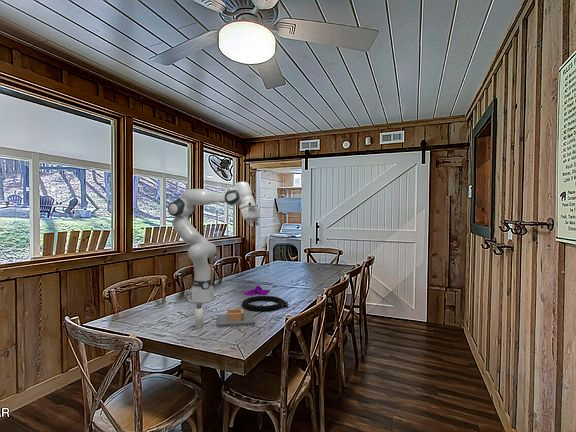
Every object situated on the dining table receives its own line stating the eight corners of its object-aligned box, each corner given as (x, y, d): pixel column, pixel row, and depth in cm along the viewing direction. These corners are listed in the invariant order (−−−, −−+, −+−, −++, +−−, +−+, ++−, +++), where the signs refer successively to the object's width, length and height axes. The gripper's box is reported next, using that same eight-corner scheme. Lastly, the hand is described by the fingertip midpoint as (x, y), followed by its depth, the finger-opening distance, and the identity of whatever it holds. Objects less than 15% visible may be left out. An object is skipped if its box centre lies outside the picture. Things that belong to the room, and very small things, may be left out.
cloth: (240, 296, 236) (240, 287, 236) (249, 290, 254) (249, 282, 254) (270, 298, 231) (270, 289, 231) (276, 291, 249) (276, 283, 249)
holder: (217, 327, 171) (217, 317, 171) (216, 317, 186) (216, 308, 186) (255, 324, 175) (255, 314, 175) (251, 315, 191) (251, 306, 191)
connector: (193, 326, 171) (194, 302, 171) (201, 325, 174) (201, 301, 174) (196, 329, 168) (196, 304, 168) (204, 327, 170) (204, 302, 170)
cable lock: (249, 293, 227) (292, 296, 221) (249, 299, 227) (292, 302, 221) (235, 304, 200) (283, 308, 194) (235, 311, 200) (283, 314, 194)
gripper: (250, 206, 221) (256, 226, 220) (237, 206, 202) (244, 228, 201) (259, 203, 220) (265, 223, 219) (246, 203, 200) (253, 225, 199)
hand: (254, 225), depth 210 cm, fingers open, 8 cm apart
